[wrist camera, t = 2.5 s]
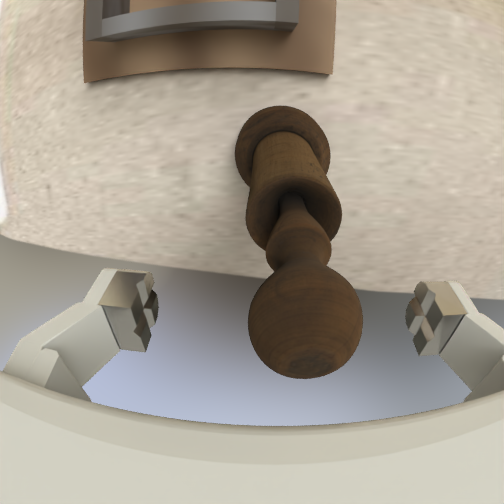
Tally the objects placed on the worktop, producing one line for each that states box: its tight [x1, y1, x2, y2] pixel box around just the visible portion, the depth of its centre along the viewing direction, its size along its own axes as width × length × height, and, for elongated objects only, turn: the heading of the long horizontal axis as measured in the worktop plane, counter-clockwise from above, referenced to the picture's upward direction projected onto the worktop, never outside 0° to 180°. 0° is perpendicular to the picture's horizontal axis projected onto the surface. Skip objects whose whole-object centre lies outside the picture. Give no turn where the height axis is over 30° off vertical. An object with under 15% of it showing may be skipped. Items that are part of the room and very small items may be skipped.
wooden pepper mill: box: [235, 106, 363, 379], centre depth 14 cm, size 7×6×18 cm
